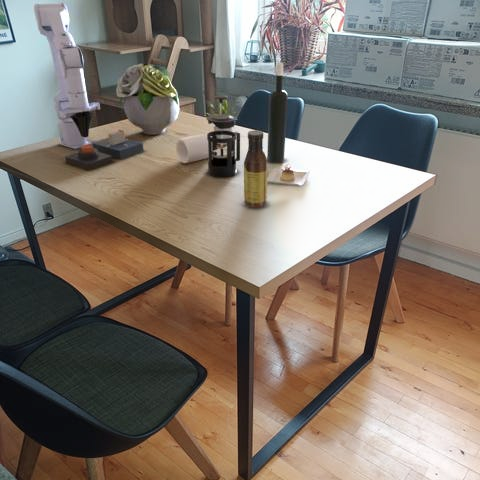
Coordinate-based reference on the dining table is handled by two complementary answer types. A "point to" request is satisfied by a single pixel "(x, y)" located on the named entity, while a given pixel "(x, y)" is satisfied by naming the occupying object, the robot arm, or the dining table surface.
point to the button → (87, 148)
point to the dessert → (287, 176)
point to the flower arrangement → (148, 98)
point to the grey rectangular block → (116, 137)
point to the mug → (192, 148)
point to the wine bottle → (277, 119)
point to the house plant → (224, 111)
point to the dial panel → (119, 148)
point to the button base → (88, 159)
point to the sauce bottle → (255, 171)
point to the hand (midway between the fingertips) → (84, 136)
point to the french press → (222, 158)
